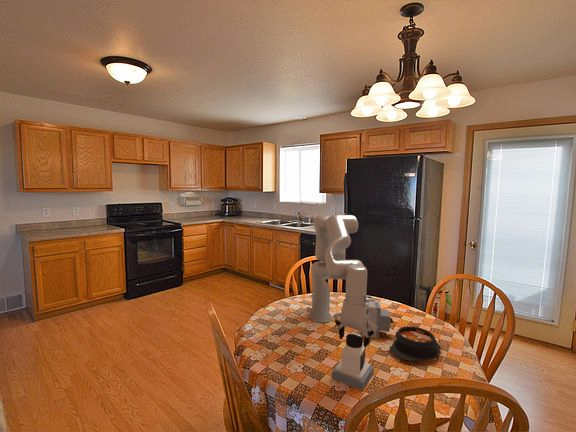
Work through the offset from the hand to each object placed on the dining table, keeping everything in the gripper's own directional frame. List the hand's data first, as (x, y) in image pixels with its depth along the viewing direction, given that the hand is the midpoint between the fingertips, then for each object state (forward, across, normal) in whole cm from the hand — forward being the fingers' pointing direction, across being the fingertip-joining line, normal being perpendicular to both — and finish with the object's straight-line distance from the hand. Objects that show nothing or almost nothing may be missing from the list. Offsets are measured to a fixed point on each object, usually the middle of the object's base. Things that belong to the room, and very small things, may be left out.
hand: (353, 341), depth 114 cm
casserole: (+14, -17, -31) cm, 38 cm away
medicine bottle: (+10, 0, 0) cm, 10 cm away
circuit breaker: (+14, +2, -37) cm, 40 cm away
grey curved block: (+15, +18, -60) cm, 65 cm away
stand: (+13, -1, +1) cm, 13 cm away
